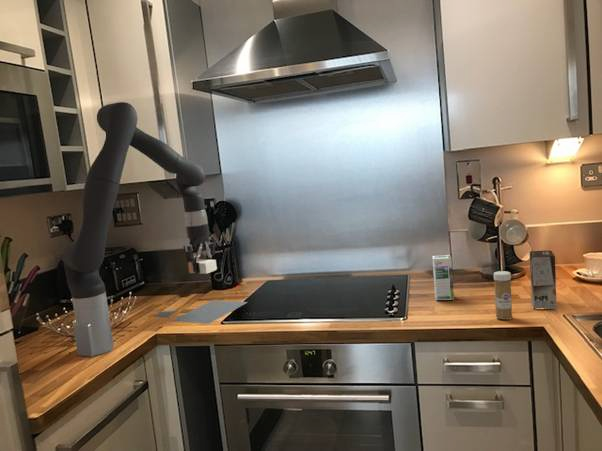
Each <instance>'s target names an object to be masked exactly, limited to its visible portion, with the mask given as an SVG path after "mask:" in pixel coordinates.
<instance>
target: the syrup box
mask: <svg viewBox="0 0 602 451" xmlns="http://www.w3.org/2000/svg"><path fill="white" fill-rule="evenodd" d="M431 259H432V270H433V284H434V285H433V286H434V287H433V288H434V297H435V301H436V300H454V301H455V295H454V280H453V279H454V278H453V264H452V256H451V255H450V254H446V255H445V254H444V255H432V257H431Z"/></svg>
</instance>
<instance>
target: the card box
mask: <svg viewBox="0 0 602 451" xmlns="http://www.w3.org/2000/svg"><path fill="white" fill-rule="evenodd" d="M205 259H206V258H202V259H201V258H199V262H198V263H199V267H200V273H199V274H203V275H206V274H209V273H212V272H215V271H217V269H218V266H217V259H211V260H205ZM187 265H188V273H189V274H195V273H194V271H193V264H192V263H191V262H188V263H187Z"/></svg>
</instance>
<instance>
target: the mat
mask: <svg viewBox="0 0 602 451" xmlns="http://www.w3.org/2000/svg"><path fill="white" fill-rule="evenodd" d="M247 303H248V301H233V300H232V301H229V300H211V301H209V302H206V303H204V304H202V305H201V306H198V307H196V308H194V309H192V310H190V311H188V312H186V313H184V314H182V315H180V316H179V317H175V318H173V319H172V320H171V322H179V323H180V322H182V323H194V324H207V325H208V324H210V323H213V322H215V321H217V320H218V319H220V318H222V317H224V316H225V315H228V314H229V313H231V312H234V311H235V310H237V309H239V308H240V307H242V306H244V305H246V304H247Z"/></svg>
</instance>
